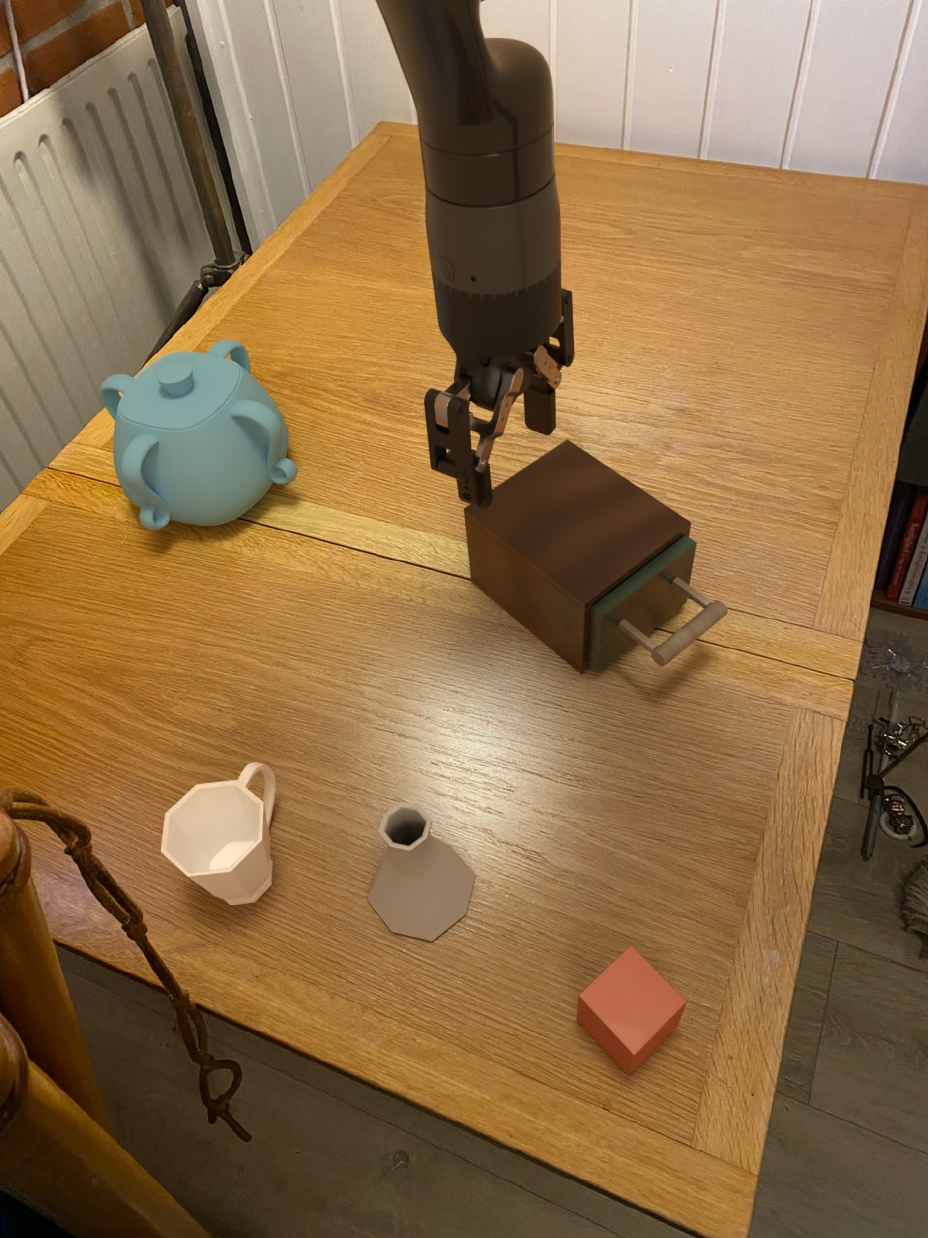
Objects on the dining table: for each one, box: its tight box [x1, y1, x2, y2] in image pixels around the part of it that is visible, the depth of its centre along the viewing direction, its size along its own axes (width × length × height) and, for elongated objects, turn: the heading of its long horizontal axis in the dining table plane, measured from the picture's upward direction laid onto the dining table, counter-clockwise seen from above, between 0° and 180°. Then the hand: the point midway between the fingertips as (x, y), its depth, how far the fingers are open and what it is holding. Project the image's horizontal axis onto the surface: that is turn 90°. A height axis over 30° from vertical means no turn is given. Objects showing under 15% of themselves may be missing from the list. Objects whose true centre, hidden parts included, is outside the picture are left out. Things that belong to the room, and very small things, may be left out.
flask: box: [367, 801, 476, 942], centre depth 63 cm, size 7×7×10 cm
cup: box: [160, 761, 277, 906], centre depth 66 cm, size 7×10×8 cm
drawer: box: [588, 535, 728, 673], centre depth 76 cm, size 17×10×7 cm, turn 41°
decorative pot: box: [98, 338, 298, 531], centre depth 88 cm, size 16×16×14 cm
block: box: [576, 944, 688, 1077], centre depth 58 cm, size 4×4×5 cm
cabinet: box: [463, 438, 692, 675], centre depth 78 cm, size 14×12×9 cm
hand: (510, 464), depth 67 cm, fingers open, 8 cm apart
